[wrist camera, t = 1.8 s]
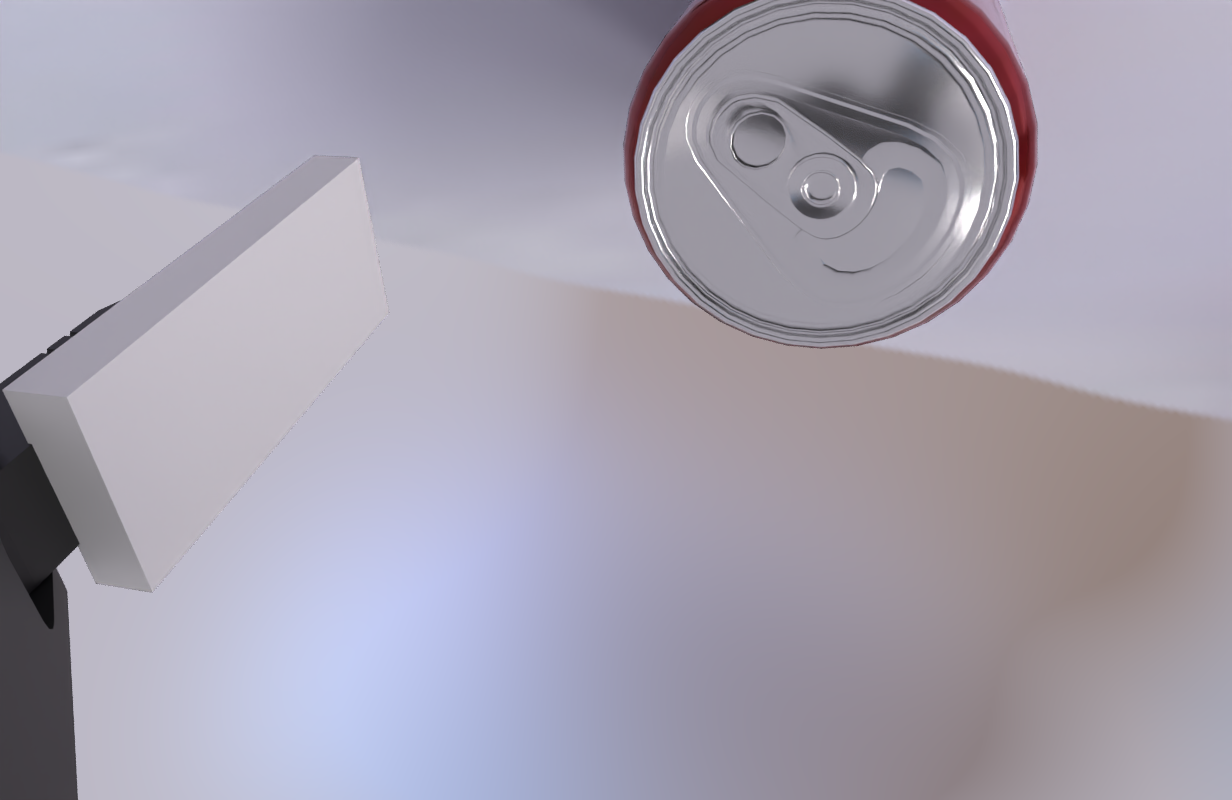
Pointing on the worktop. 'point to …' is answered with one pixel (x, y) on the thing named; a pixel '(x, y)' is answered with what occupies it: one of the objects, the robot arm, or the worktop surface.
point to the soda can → (831, 161)
